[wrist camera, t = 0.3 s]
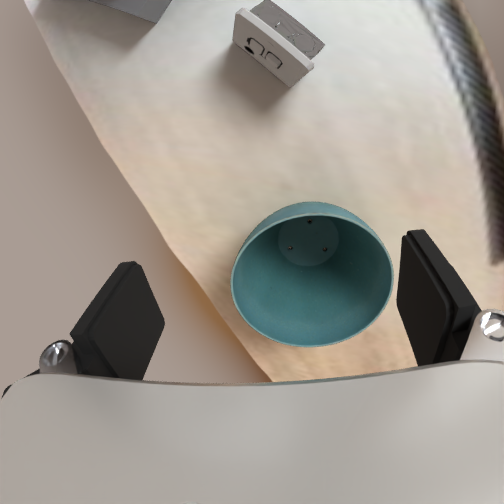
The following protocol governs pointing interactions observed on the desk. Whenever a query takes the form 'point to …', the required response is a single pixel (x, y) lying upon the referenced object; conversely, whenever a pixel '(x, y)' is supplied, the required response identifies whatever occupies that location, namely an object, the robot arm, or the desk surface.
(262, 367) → the desk surface
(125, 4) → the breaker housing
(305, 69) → the electrical switch
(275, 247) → the plant pot
